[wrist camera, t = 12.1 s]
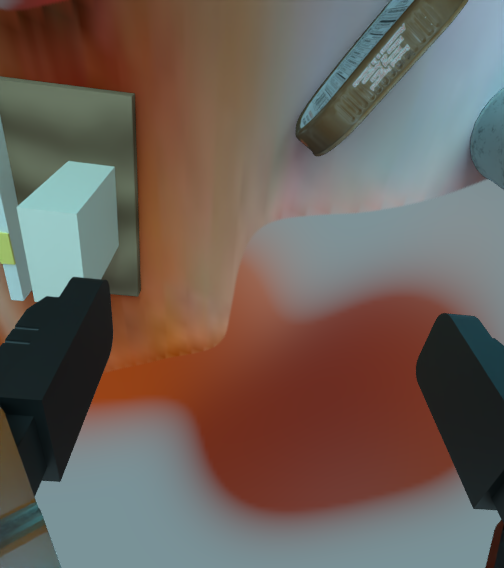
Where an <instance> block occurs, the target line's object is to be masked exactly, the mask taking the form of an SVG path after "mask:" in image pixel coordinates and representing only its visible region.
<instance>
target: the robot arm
mask: <svg viewBox="0 0 504 568" xmlns="http://www.w3.org/2000/svg"><path fill="white" fill-rule="evenodd" d="M112 341H113V325H112V312H111V299H110V287H109V283H108V281H107V280H102V279H92V278H81V277H72V278H71V279H70V281H69V282H68V284H67V285H66V287H65V289H64V290H63V292H62V293H61V295H60V296H59V297H51V296H46V297H44V298H43V299H41V300H40V301H39V302H37V303H36V304H34V305H33V306H31V307H30V308H28V309H27V310H26V311H25V313H24V314H23V316H22V317H21V318H20V320H19V321H18V323H17V324H16V325H15V329H13V330H12V331H11V332H10V334H9V335H8V337H7V338H6V339H5V343H2V345H1V346H0V568H61V565H60V563H59V560H58V557H57V554H56V551H55V549H54V546H53V543H52V540H51V537H50V535H49V532H48V529H47V526H46V524H45V521H44V518H43V516H42V513H41V511H40V509H39V508H38V505H37V502H36V500H35V495H36V492H37V490H38V488H39V485H40V483H41V481H42V480H43V481H58V482H60V481H61V479H62V476H63V473H64V470H65V468H66V466H67V463H68V461H69V458H70V456H71V452H72V450H73V448H74V445H75V443H76V440H77V437H78V435H79V432H80V430H81V427H82V425H83V422H84V420H85V417H86V415H87V412H88V409H89V407H90V404H91V402H92V399H93V397H94V394H95V391H96V389H97V386H98V384H99V381H100V379H101V376H102V374H103V371H104V368H105V366H106V363H107V361H108V358H109V355H110V352H111V347H112ZM416 377H417V382H418V384H419V386H420V389H421V391H422V393H423V395H424V398H425V400H426V402H427V405H428V407H429V409H430V411H431V414H432V416H433V418H434V420H435V423H436V425H437V427H438V430H439V432H440V434H441V436H442V439H443V441H444V443H445V445H446V447H447V450H448V452H449V454H450V456H451V459H452V461H453V463H454V466H455V468H456V470H457V472H458V475H459V477H460V479H461V481H462V484H463V486H464V488H465V491H466V493H467V495H468V497H469V499H470V502H471V504H472V506H473V508H474V509H486V510H497V511H498V513H499V515H500V517H501V521H500V522H499V523H498V524H497V526H496V527H495V530H494V534H493V538H492V543H491V547H490V551H489V555H488V559H487V563H486V567H485V568H504V346H503V345H502V344H501V343H500V342H498V341H497V340H496V339H495V338H492V337H491V336H490V334H489V333H488V331H487V330H486V329H485V327H484V326H483V325H482V323H481V322H480V320H479V319H478V318H476V317H475V316H467V315H457V314H447V313H443V314H441V315H439V316H438V317H437V319H436V321H435V323H434V325H433V327H432V329H431V331H430V334H429V336H428V338H427V340H426V342H425V345H424V346H423V349H422V351H421V353H420V355H419V358H418V360H417V365H416Z"/></svg>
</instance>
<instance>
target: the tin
mask: <svg viewBox="0 0 504 568" xmlns="http://www.w3.org/2000/svg"><path fill="white" fill-rule="evenodd" d="M467 2H468V0H391V1H390V2H389V3H388V4H387V6H386V7H385V8H384V9H383V10H382V12H381V13H380V14H379V15H378V16H377V18H376V19H375V20H374V21H373V22H372V24H371V25H370V26H369V27H368V28H367V30H366V31H365V32H364V33H363V34H362V36H361V37H360V38H359V39H358V40H357V41H356V43H355V44H354V45H353V46H352V48H351V49H350V50H349V51H348V52H347V54H346V55H345V56H344V57H343V59H342V60H341V61H340V62H339V64H338V65H337V66H336V67H335V69H334V70H333V71H332V72H331V74H330V75H329V76H328V77H327V79H326V80H325V81H324V82H323V84H322V85H321V86H320V88H319V89H318V90H317V91H316V93H315V94H314V96H313V97H312V98H311V100H310V101H309V103H308V104H307V105H306V107H305V109H304V110H303V112H302V113H301V115H300V117H299V119H298V121H297V124H296V137H297V138H298V139H299V140H300V141H301V142H302V143H303V144H304V145H305V146H307V147H308V148H309V149H310V150H311V151H312V152H313V154H314V155H315V156H321V155H324V154H326V153H328V152H329V151H331V150H332V149H333V148H335V147H336V146H337V145H338V144H340V143H341V142H342V141H343V140H344V139H345V138H346V137H347V136H348V135H350V134H351V132H353V131H354V129H355V128H356V127H357V126H358V125H359V124H360V123H361V122H362V121H363V120H364V119H365V118H366V116H367V115H368V114H369V113H370V112H371V111H372V110H373V109H374V108H375V107H376V105H377V104H378V103H379V102H380V101H381V100H382V99H383V98H384V97H385V96H386V95H387V93H388V92H389V91H390V90H391V89H392V88H393V87H394V85H395V84H396V83H397V82H398V81H399V80H400V79H401V78H402V77H403V76H404V75H405V73H406V72H407V71H408V70H409V69H410V68H411V67H412V66H413V65H414V64H415V62H416V61H417V60H418V59H419V58H420V57H421V56H422V55H423V54H424V53H425V51H426V50H427V49H428V48H429V47H430V46H431V45H432V44H433V43H434V42H435V40H436V39H437V38H438V37H439V36H440V35H441V34H442V33H443V32H444V31H445V30H446V28H447V27H448V26H449V25H450V24H451V23H452V22H453V20H454V19H455V18H456V17H457V15H458V14H459V13H460V11H461V10H462V9H463V7H464V6H465V5H466V3H467Z"/></svg>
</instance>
